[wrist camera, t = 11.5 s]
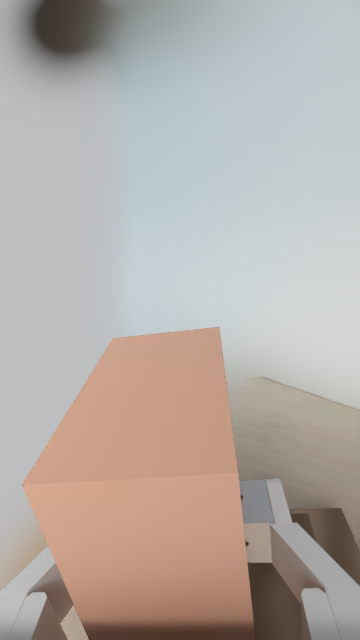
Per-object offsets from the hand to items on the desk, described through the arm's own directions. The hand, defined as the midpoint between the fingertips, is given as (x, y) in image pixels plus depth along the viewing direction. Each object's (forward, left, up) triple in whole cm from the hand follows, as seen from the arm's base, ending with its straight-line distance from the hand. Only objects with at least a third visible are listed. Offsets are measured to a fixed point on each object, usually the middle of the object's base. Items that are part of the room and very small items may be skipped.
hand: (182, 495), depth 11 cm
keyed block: (0, +1, -5) cm, 6 cm away
